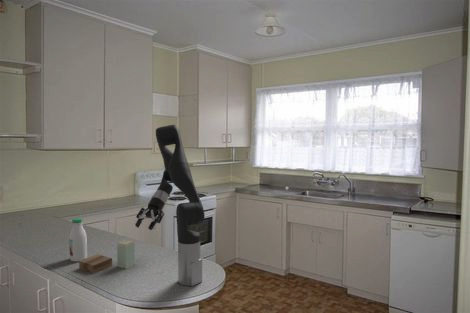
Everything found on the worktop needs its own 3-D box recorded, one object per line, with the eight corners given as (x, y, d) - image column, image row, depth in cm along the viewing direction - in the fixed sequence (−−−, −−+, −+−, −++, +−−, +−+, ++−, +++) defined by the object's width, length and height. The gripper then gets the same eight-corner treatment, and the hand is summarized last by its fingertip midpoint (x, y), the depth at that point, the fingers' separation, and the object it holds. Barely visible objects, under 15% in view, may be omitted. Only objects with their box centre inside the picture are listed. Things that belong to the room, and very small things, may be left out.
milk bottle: (89, 256, 176) (88, 216, 174) (83, 261, 168) (82, 220, 166) (74, 256, 176) (72, 216, 174) (67, 262, 168) (65, 220, 166)
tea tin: (134, 264, 165) (134, 241, 164) (126, 268, 160) (125, 244, 159) (126, 262, 167) (125, 239, 167) (117, 266, 163) (117, 242, 162)
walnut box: (112, 266, 164) (112, 258, 163) (93, 274, 155) (93, 265, 155) (98, 262, 169) (97, 254, 168) (79, 269, 160) (79, 261, 160)
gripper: (144, 195, 183) (128, 222, 173) (165, 197, 176) (150, 226, 167) (151, 203, 188) (136, 229, 179) (172, 206, 181) (158, 234, 172)
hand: (143, 228), depth 173 cm, fingers open, 8 cm apart
